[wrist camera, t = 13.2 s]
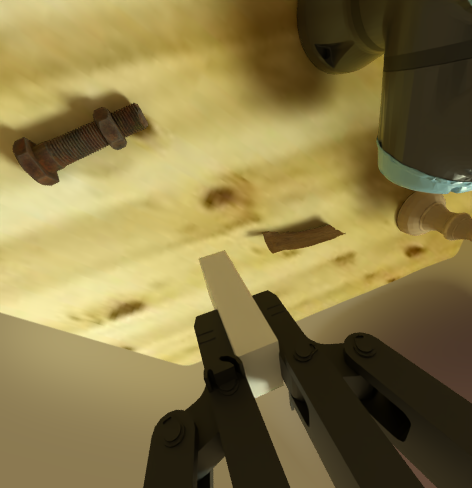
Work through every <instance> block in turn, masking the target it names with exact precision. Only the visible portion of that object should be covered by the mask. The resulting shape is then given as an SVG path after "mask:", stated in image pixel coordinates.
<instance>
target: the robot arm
mask: <svg viewBox="0 0 472 488" xmlns="http://www.w3.org/2000/svg"><path fill="white" fill-rule="evenodd" d="M297 23H298V31H299V36H300V40H301V43H302V46H303V48H304V51H305V53H306V54H307V56H308V58H309V59H310V60H311V62H312V63H313V64H314V65H315V66H316V67H317V68H319V69H320V70H322V71H324V72H326V73H330V74H344V73H350V72H354V71H357V70H359V69H361V68H363V67H365V66H366V65H368V64H369V63H371V62H372V61H374V60H375V59H377V58H378V57H380V56H381V55H383V54H384V68H383V78H382V93H381V107H380V119H379V131H378V136H377V140H376V142H377V147H378V167H379V170H380V172H381V173H382V174H383V175H384V176H385V177H386V178H387V179H388V180H389V181H391V182H393V183H394V184H397V185H399V186H401V187H404V188H407V189H411V190H415V191H419V192H425V193H434V194H448V193H449V192H450V191H451V192H454V193H463V192H467V191H471V190H472V0H298V7H297ZM199 261H200V265H201V268H202V272H203V275H204V279H205V282H206V285H207V289H208V292H209V296H210V299H211V301H212V304H213V307H214V309H215V310H213V311H211V312H208V313H205V314H202V315H200V316H197V317H196V320H195V324H194V329H195V333H196V337H197V341H198V345H199V349H200V353H201V357H202V361H203V365H204V380H205V383H206V387H205V390H204V392H203V393H202V395H201V397H200V398H199V399H198V400H197V401H196V402H195V403H194V404H192V405H191V406H190V407H189V408H188V409H186V410H185V411H184V410H175V411H172V412H169V413H167V414H166V415H165V416H164V417H162V418H161V419H160V421H159V422H158V424H157V425H156V426H155V429H154V432H153V435H152V438H151V444H150V450H149V457H148V463H147V468H146V474H145V480H144V487H143V488H213V468H214V467H215V466H216V465H217V463H219V462H220V461H221V460H222V458H224V456H225V457H226V461H227V465H228V469H229V473H230V477H231V481H232V485H233V488H290V486H289V483H288V481H287V478H286V476H285V474H284V471H283V468H282V466H281V463H280V461H279V458H278V456H277V453H276V451H275V448H274V446H273V443H272V441H271V438H270V436H269V433H268V431H267V428H266V426H265V423H264V421H263V418H262V416H261V413H260V411H259V408H258V406H257V403H256V401H255V398H257V397H259V396H261V395H263V394H266V393H268V392H270V391H272V390H274V389H277V388H279V387H281V386H283V380H284V382H285V384H286V386H287V388H288V390H289V399H290V406H291V409H292V410H294V407H295V409H296V411H297V413H298V415H299V417H300V419H301V421H302V423H303V425H304V427H305V429H306V431H307V433H308V435H309V437H310V439H311V441H312V442H313V445H314V446H315V448H316V450H317V452H318V454H319V456H320V458H321V460H322V462H323V464H324V466H325V468H326V470H327V472H328V474H329V476H330V478H331V480H332V482H333V484H334V486H335V487H336V488H424V487H423V485H422V484H421V482H420V481H419V480H418V478H417V477H416V476H415V474H414V473H413V472H412V470H411V469H410V468H409V466H408V465H407V464H406V462H405V461H404V460H403V459H402V457H401V455H400V454H399V453H398V451H397V450H396V449H395V447H396V448H397V449H398V450H399V451H400V452H401V453H402V454H403V455H404V456H405V457H406V458H407V459H408V460H410V462H411V463H413V464H414V465H415V466H416V467H417V468H418V469H419V470H420V471H421V472H422V473H423V474H424V475H425V476H426V477H427V478H428V479H429V480H430V481H431V482H432V483H433V484H434V485H435V486H436V487H437V488H472V403H470V402H469V401H467V400H466V399H464V398H463V397H461V396H460V395H459V394H457V393H455V392H454V391H453V390H451V389H450V388H448V387H447V386H446V385H444V384H443V383H441V382H440V381H438V380H437V379H435V378H434V377H432V376H431V375H429V374H428V373H427V372H425V371H424V370H422V369H420V368H419V367H418V366H416V365H415V364H413V363H412V362H410V361H409V360H408V359H406V358H405V357H403V356H402V355H400V354H399V353H398V352H396V351H394V350H393V349H392V348H390V347H389V346H387V345H386V344H384V343H383V342H382V341H380V340H379V339H377V338H376V337H373V336H372V335H370V334H366V333H353V334H351V335H349V336H348V337H347V338H346V339H345V341H344V343H340V344H319V343H316V342H315V341H312V340H310V339H309V338H307V337H306V335H304V333H303V332H302V331H301V329H300V328H299V326H298V325H297V323H296V322H295V321H294V319H293V318H292V316H291V315H290V314H289V312H288V311H287V310H286V308H285V307H284V305H282V303H281V301H280V300H279V298H278V297H277V296H276V295H275V294H273V293H272V292H270V291H268V290H267V291H264V292H261V293H258V294H256V295H253V296H252V295H251V294H250V292H249V290H248V289H247V287H246V285H245V284H244V282H243V280H242V278H241V277H240V275H239V273H238V272H237V270H236V268H235V267H234V265H233V263H232V262H231V260H230V258H229V256H228V255H227V253H226V251H225V250H224V251H221V252H218V253H215V254H212V255H209V256H206V257H202V258H199ZM392 444H393V445H394V446H395V447H394V446H393V445H392Z"/></svg>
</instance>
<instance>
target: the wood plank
mask: <svg viewBox="0 0 472 488" xmlns="http://www.w3.org/2000/svg"><path fill="white" fill-rule="evenodd" d="M262 234H263V235H264V239H265V242H266V244H267V246H268V248H269V250H270V251H271V252H272V253H276V252H279V251H282V250H291V249H299V248H304V247H309V246H312V245H315V244H318V243H322V242H325V241H328V240H331V239H334V238H336V237H337V236H340V235H343V234H346V233H342V232H340V231H339V230H335V228H334V227H332V226H331V225H327V226H323V227H319V228H314V229H309V230H305V231H301V232H287V233H277V232H265V233H262Z"/></svg>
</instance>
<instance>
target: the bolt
mask: <svg viewBox="0 0 472 488" xmlns="http://www.w3.org/2000/svg"><path fill="white" fill-rule="evenodd" d="M93 118H94V120H95V121H94V122H91V124H90V123H88V125H87V124H86V126H85V125H83V127H82V126H81V128H78V129H75V130H73V132H72V131H70V133H69V132H68V134H66V133H65V135H62V136H59V137H57V138H54V139H52V140H49V141H45V142H43V143H40V144H38V145H36V144H34V143H33V142H31V141H30V140H28V139H26V138H25V137H23V138H21V139H19V140H17V141H15V143H14V145H13V152H14V154H15V156H16V158H17V160H18V162H19V163H20V165H21V167H22V168H23V169H24V170H25V171H26V172H27V173H28V174H29V175H30V176H31V177H32V178H33V179H34V180H36V181H37V182H38V183H40V184H42V185H53V184H56V183H58V182H59V178H58V174H57V171H58V170H60V169H63V168H65V166H67V165H69V164H71V163H73V162H74V161H77V160H79V159H82V158H84V157H86V156H87V155H88V156H89V154H92V153H94V152H96V150H97V151H99V149H100V150H101V148H104V147H106V146H108V144H109V145H110V146H111V147H112V148H113V149H116V150H119V149H122V148H124V147H126V144H127V141H126V139H125V137H127V136H130V135H132V133H133V134H134V132H135V133H137V131H138V132H139V130H141V131H142V129H143V130H144V128H145V129H146V127H148V123H147V121H146V119H145V117H144V115H143V113H142V111H141V109H140V108H139V106H138V104H135V103H133V104H131V106H130V105H129V106H126V108H125V107H124V109H122V108H121V110H120V109H119V111H117V110H116V112H114V114H113V113H110V112H109V110H108V109H106V108H104V107H101V108H99V109H97V110H95V111H94V113H93Z"/></svg>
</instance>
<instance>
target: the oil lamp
mask: <svg viewBox="0 0 472 488" xmlns="http://www.w3.org/2000/svg"><path fill="white" fill-rule="evenodd" d="M397 224H398V228H399V229H400V230H401V231H402V232H405V233H407V234H410V235H414V236H417V235H422V234H425V233H427V232H429V231H438V232H440V233H442V234H443V235H444V237H445V238H446V239H448V240H458V239H468V240H470V241H472V219H471V217H470V215H469V214H467V213H452V212H450V211H449V210H448V209H447V208H446V201H445V198H444V196H443V195H442V194H434V193H425V192H419V191H415V192H414V193H413V194H412V195H411V196H409V197H408V198H407V200H406V201H405V202H404V204H403V205H402V207H401V209H400V211H399V214H398V218H397Z"/></svg>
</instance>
